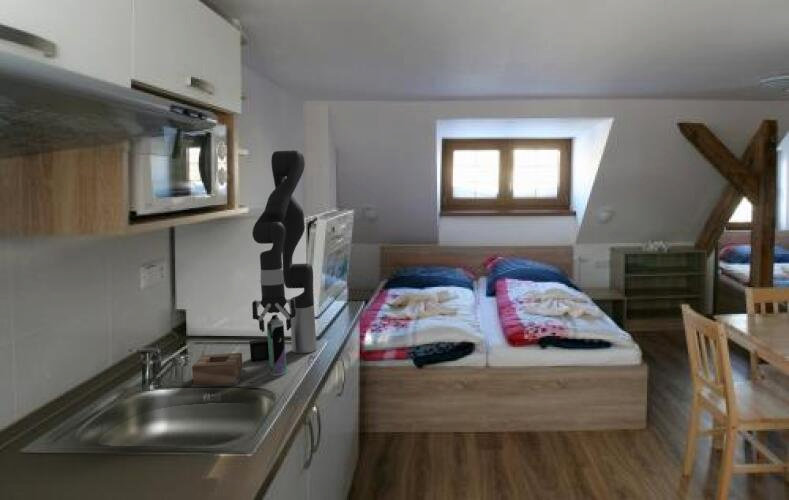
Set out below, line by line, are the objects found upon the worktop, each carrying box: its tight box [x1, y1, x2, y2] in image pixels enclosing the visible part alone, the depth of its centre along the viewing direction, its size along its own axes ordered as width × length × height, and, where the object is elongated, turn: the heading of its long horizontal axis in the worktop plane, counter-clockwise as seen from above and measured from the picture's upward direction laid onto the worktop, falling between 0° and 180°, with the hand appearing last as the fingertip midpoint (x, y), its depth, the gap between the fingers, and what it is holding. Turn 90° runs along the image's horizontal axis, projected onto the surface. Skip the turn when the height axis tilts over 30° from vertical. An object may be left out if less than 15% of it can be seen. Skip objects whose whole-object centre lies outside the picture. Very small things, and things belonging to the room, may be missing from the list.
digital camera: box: [249, 338, 269, 363], centre depth 222 cm, size 10×5×7 cm, turn 110°
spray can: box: [266, 314, 288, 377], centre depth 204 cm, size 6×6×20 cm
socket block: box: [191, 352, 246, 389], centre depth 201 cm, size 14×14×7 cm
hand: (275, 330), depth 203 cm, fingers open, 8 cm apart
